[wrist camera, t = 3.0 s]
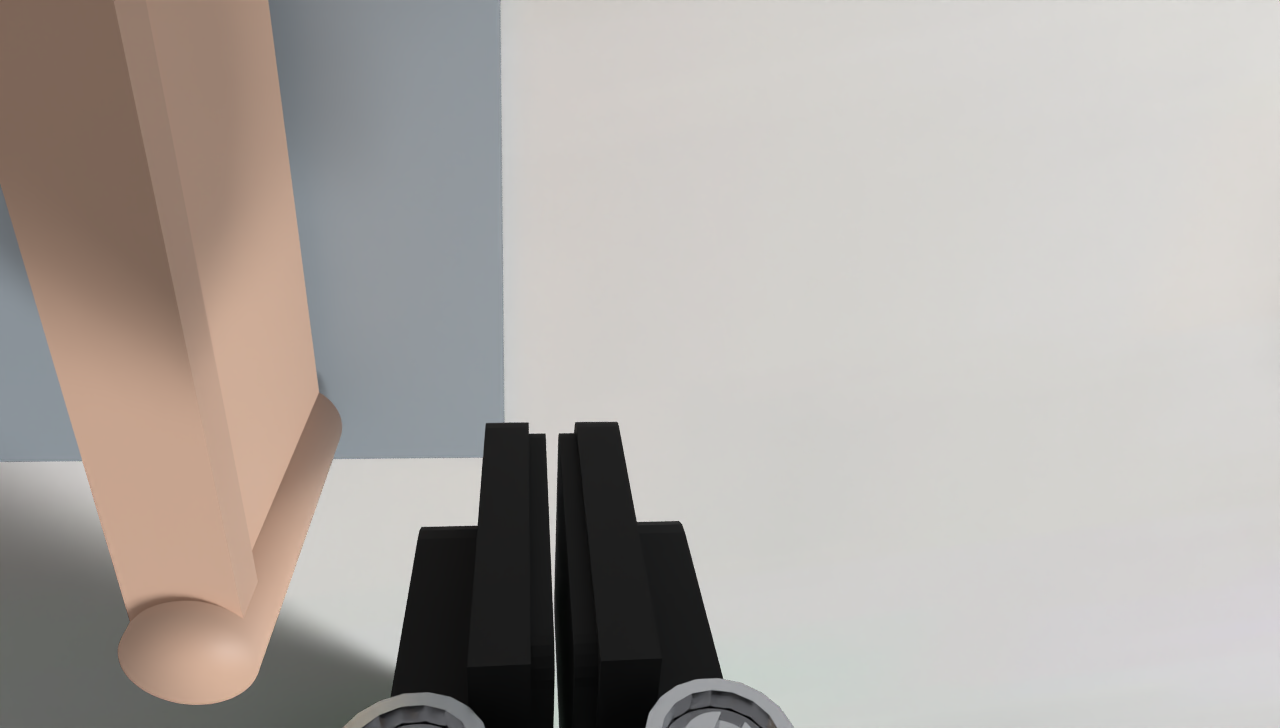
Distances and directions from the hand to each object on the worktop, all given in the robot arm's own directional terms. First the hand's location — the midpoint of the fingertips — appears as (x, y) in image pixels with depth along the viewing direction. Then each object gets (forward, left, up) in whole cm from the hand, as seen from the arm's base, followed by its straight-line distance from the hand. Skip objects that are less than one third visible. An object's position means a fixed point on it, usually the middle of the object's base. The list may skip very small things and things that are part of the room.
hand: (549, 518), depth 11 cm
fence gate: (-3, -5, -8) cm, 10 cm away
